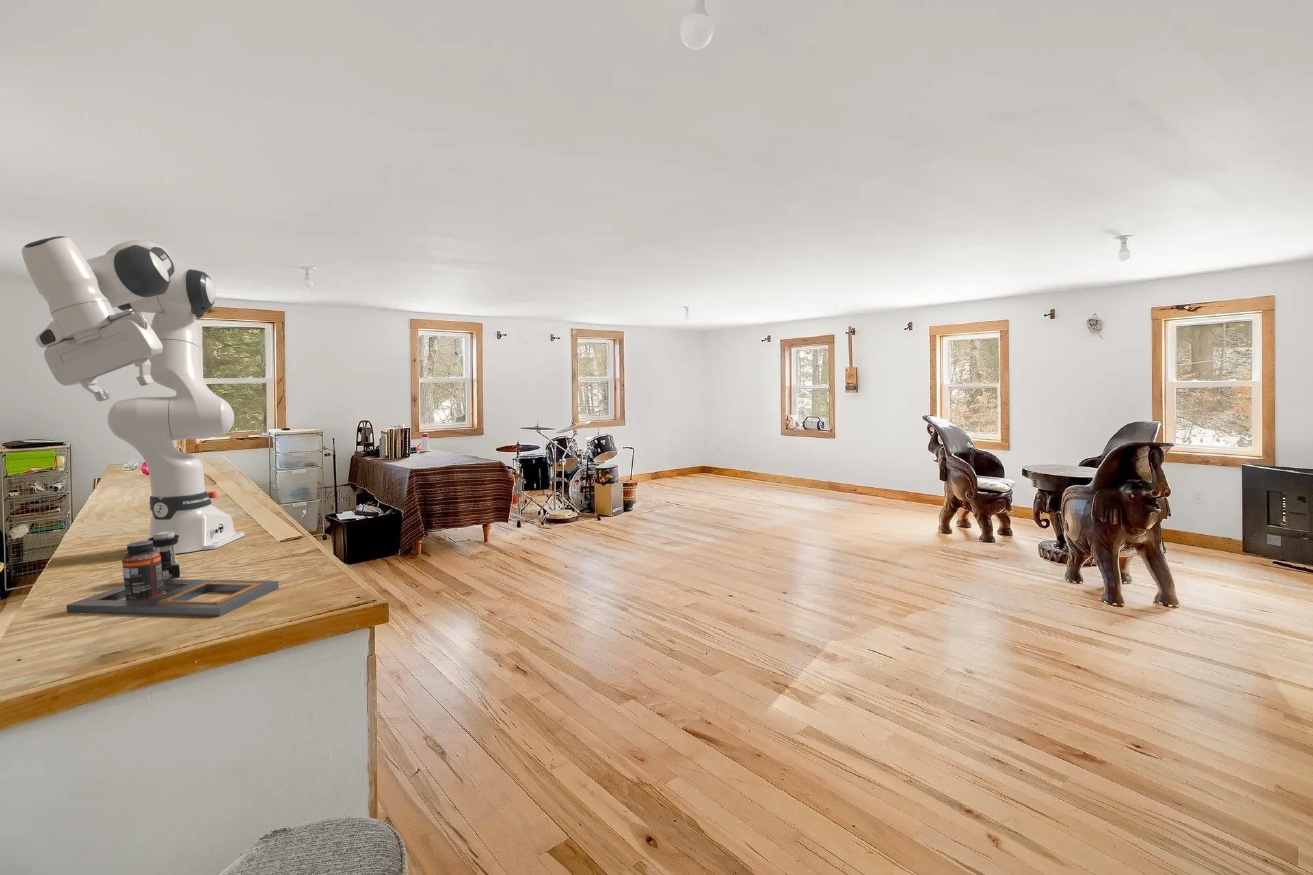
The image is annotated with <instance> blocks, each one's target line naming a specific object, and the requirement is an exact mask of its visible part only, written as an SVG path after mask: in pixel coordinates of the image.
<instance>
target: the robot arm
mask: <svg viewBox="0 0 1313 875" xmlns="http://www.w3.org/2000/svg"><path fill="white" fill-rule="evenodd" d="M21 254H22V258H23V261H24V264H25V266H26V269H27V273H28V274H29V276H30V279H31V280H32V283H33V284H34V287H35V288H36V290H37V291H38V293H39V294H40V295H41V296H42V297H43V298H44V300H45V301H46V303H47V305H48V308H49V313H50V315H51V317H52V319H53V320H52V321H51V322H50V323H49V324H48V325H47V327H46V328H45V329H43V330H42V331H41V332H40V333H39V334H38V335H37V336H36V337H35V341H36V345H37V346H39V347H40V348H43V349H44V353H43V356H44V359H45V362H46V364H47V365H48V368H49V369H50V371H51V374H52V376H53V377H54V379H55V380H56V381H57V382H58V383H59V384H61V385H62V386H64V387H67V386H74V385H80V386H82V388H84V389H85V390H87V391H88V392H89V393H91V394H93V396H94V397H95V400H96V401H98V403H99V402H104V401H107V400H110V399H111V398H112V396H111V394H110V392H109V390H108V389H102V388H101V387H100V386H98V385H97V384H98V380H97V378H98V377H101V376H104V375H107V374H109V373H112V372H114V371H117V370H119V369H120V370H121V369H122V368H125V367H129V366H130V365H134V366H135V368H137V367H138V370H139V372H138V375H139V376H137V377H136V380H137V382H138V384H139V386H141V387H143V386H148V385H150V384H154V382H155V383H156V384H158V385H160V386H163V387H165V388H168V389H170V390H173V391H174V392H176V395H174V396H144V397H142V396H139V397H134V398H128V399H122V400H118V401H116V402H115V403H114V404H113V405H112V406H111V408H109V411H108V414H107V425H108V427H109V429H110V431H111V433H112V434H113V435H115V437H117V438H119V439H120V440H122V441H124V442H126V443H128V444H129V445H131V446H132V447H133V448H134V449H135V450H136V451H137V452H138V453H139V454H140V456H141V457H142V459H143V460H144V462H145V464H146V467H147V470H148V476H149V482H150V489H151V495H150V496H149V507H150V508H149V510H150V511H151V513H152V515H151V517H150V524H149V538H152V537H153V534H154V533H157V532H163V531H173V532H174V534H175V535H179V538H178V543H176V544H175V555H176V554H182V553H183V554H184V553H191V552H197V551H204V550H212V549H213V550H214V549H218V548H220V547H222V546H225V545H228V544H229V543H231V542H234V541H236V540H238V539H241V538H243V537H245V535H246V534H245V532H244V531H241V530H240V531H239V530H235V526H234V521H233V518H232V516H231V515H230V514H228V513H227V512H225V511H224V510H222V509H219V508H218V507H217V506H215V505H213V504H212V503H213V502H212V499H214V500H215V499H218V497H219V496H220V495H219V492H218V491H217V490H213V491H211V490H209V491H206V485H205V472H204V470H205V469H204V465H203V462H202V461H201V460H200V459H199V458H198V457H196V456H194V455H191V454H189V453H186V452H183V451H180V450H178V449H177V448H176V446H175V444H174V442H173V441H179V440H201V439H203V440H204V439H211V438H215V437H216V438H217V437H221V436H225V435H227V434H228V433H229V432H230V430H231V429H232V428H233V425H234V422H235V413H234V410H233V408H232V406H231V405H230V403H229V402H228V401H227V400H225V399H224V398H222V397H220V396H218V395H217V394H216V393H214V391H213V390H211V389H210V388H209V386H208V385H207V383H206V382H205V380H204V377H203V372H202V362H201V358H202V355H201V354H202V353H201V347H202V346H201V336H200V331H199V326H198V321H197V319H201V318H203V317H204V315H205V313H207V312H209V310H210V309H212V307H213V306H214V304H215V299H216V288H215V285H214V283H213V280H212V279H211V277H210V276H209V275H208V274H207V273H206V272H205V271H202V270H197V269H177V268H175V264H174V262H173V257H172V256H171V254H170V252H169V251H168V250H167V249H166V248H165V247H164V246H162V245H161V244H159V243H157V242H154V241H151V240H143V239H140V240H139V239H134V240H127V241H124V242H121V243H119V244H118V243H117V244H116V245H113V247H111V248H110V249H108V250H107V251H106V252H105V254H103V255H99V256H96V257H93V258H89V259H87V258H85V256H84V255H83V253H82V251H81V249H79V247H78V245H77V244H76V243H75V242H74V241H73V240H72V239H71V237H69V236H63V235H62V236H61V235H60V236H59V235H58V236H51V237H48V238H47V237H46V238H42V239H39V240H36V241H31V242H28V243H27V244H25V245H24V246H23V247H22V248H21ZM114 308H118V309H119V310H120V312H115V310H114ZM143 313H151V314H154V315H153V318H152V320H151V325H150V324H149V323H148V322H147V320H146V317H145V316H144V314H143ZM153 549H154V548H153ZM169 550H170V554H171V555H172V553H171V547H169ZM158 552H160V548H158Z"/></svg>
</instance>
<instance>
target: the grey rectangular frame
mask: <svg viewBox="0 0 1313 875" xmlns="http://www.w3.org/2000/svg"><path fill="white" fill-rule="evenodd" d="M279 584H280V583H279V581H278V580H241V579H240V580H239V579H237V580H235V579H233V580H232V579H229V580H228V579H178V578H170V579H163V587H164V594H163V595H160V596H157V597H155V598H152V599H150V600H147V601H127V600H126V598H125V588H124V584H122V585H120V586H118V587H114V588H111V589H109V590H107V591H103V592H101V593H97V594H94V595H91V596H88V597H86V598H83V599H80V600H77V601H74V602H71V603H68V604H66V613H67V614H91V613H93V614H94V615H95V614H96V613H97V614H98V615H99V614H100V615H102V614H103V615H137V616H138V615H144V616H145V615H146V616H152V615H153V616H159V615H160V616H185V617H186V616H189V617H190V616H194V617H195V616H196V617H197V616H199V617H222V616H224V615H226V614H227V613H230V612H232V611H233V610H236V609H238V608H240V607H243V606H244V604H245V605H247V604H249V603H250V602H253V601H255V600H257V599H259V598H261V597H263V596H265V595H267V594H266V593H268V594H269V592H270V591H272V592H273V590H274V589H276V590H277V588H278V587H279ZM278 589H279V588H278ZM274 591H275V590H274ZM206 593H233V594H230V595H227V596H225V597H224V598H221V599H219V600H192V599H194V598H197V597H199V596H202V595H204V594H206ZM270 593H271V592H270ZM264 594H265V595H264ZM262 595H263V596H262ZM260 596H261V597H260ZM256 598H257V599H256ZM124 599H125V600H124ZM252 600H253V601H252ZM248 602H249V603H248Z"/></svg>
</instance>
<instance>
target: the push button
mask: <svg viewBox="0 0 1313 875" xmlns="http://www.w3.org/2000/svg"><path fill="white" fill-rule="evenodd" d="M178 538H179V535H175V534H174V532H173V531H163V532H157V533H154V534H153V537H152V538H150V537H148V539H147V541H153V546H154V550H155V551H157V552H158V548H160V552H159V553H160V556H161V566H162V576H163V579H178V578H180V576H181V569H180V564H179V563H178V561H177V558H176V554H175V544H176V543H178ZM169 547H171V553H172V554H170V550H169Z"/></svg>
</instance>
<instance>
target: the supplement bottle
mask: <svg viewBox="0 0 1313 875" xmlns="http://www.w3.org/2000/svg"><path fill="white" fill-rule="evenodd" d="M153 548H154V546H153V541H148V540H140V541H135V542H130V543H127V545H126V551H127V553H126V554H125V555H124V556H123V557H122V560H121V565H122V575H123V585H124V588H125V598H124V599H125V600H127V601H147V600H150V599H152V598H155V597H157V596H160V595H163V594H165V591H164V587H163V576H162V566H161V556H160V553H159V552H157V551H155V550H154V549H153Z"/></svg>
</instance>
